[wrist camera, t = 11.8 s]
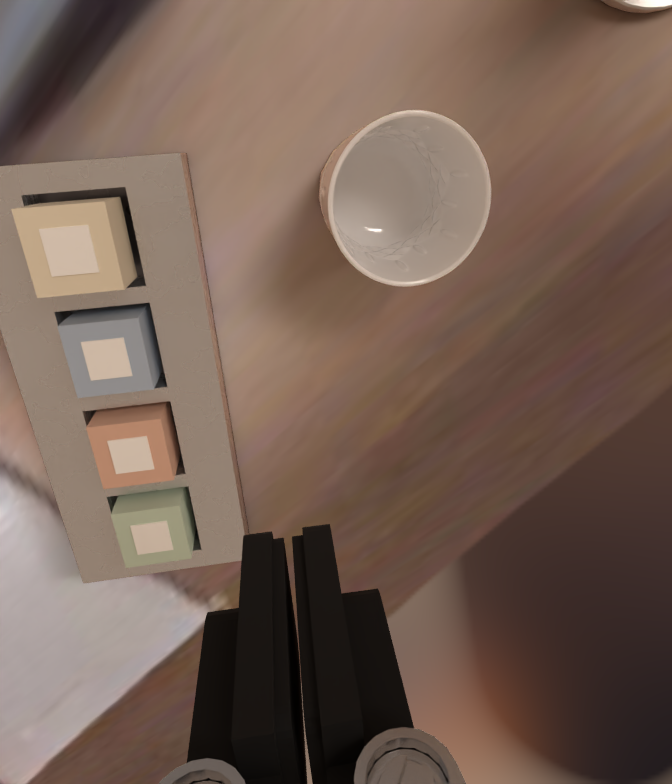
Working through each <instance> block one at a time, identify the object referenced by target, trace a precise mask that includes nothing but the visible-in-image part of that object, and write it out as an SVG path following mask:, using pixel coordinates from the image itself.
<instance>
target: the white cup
mask: <svg viewBox="0 0 672 784" xmlns="http://www.w3.org/2000/svg"><path fill="white" fill-rule="evenodd" d="M318 199H319V202H320V205H321V210H322V214H323V217H324V220H325V223H326V225H327V227H328V229H329V231H330V233H331V235H332V237H333V238H334V240H335V242H336V243H337V245H338V247H339V249H340V250H341V252H342V253H343V255H344V256H345V257H346V259H347V260H348V261H349V262H350V263H351V264H352V265H353V266H354V267H355V268H356V269H357V270H358V271H360V272H361V273H362V274H364V275H365V276H367V277H369V278H371V279H373V280H375V281H377V282H380V283H383V284H387V285H391V286H400V287H408V286H417V285H422V284H426V283H429V282H432V281H434V280H437V279H439V278H441V277H443V276H445V275H446V274H448V273H449V272H451V271H452V270H454V269H455V268H456V267H457V266H458V265H460V264H461V263H462V262H463V261H464V260H465V259H466V258H467V256H468V255H469V254H470V253H471V251H472V250H473V249H474V247H475V246H476V244H477V243H478V241H479V239H480V237H481V235H482V233H483V231H484V228H485V226H486V223H487V219H488V216H489V211H490V205H491V181H490V175H489V170H488V166H487V163H486V161H485V158H484V156H483V154H482V152H481V150H480V148H479V146H478V145H477V143H476V142H475V140H474V139H473V138H472V136H471V135H470V134H469V133H468V132H467V131H466V130H465V129H464V128H463V127H461V126H460V125H459V124H457V123H456V122H454V121H453V120H451V119H449V118H447V117H445V116H443V115H441V114H438V113H434V112H430V111H425V110H405V111H399V112H395V113H391V114H388V115H386V116H383V117H381V118H379V119H377V120H375V121H373V122H372V123H370V124H368V125H366V126H364V127H363V128H361V129H359V130H357V131H356V132H354V133H353V134H352V135H350V136H349V137H348V138H347V139H345V140H344V141H343V142H342V143H341V144H340V145H339V146H338V147H337V148H336V149H334V150H333V152H332V153H331V155H330V157H329V159H328V161H327V162H326V164H325V166H324V168H323V170H322V172H321V174H320V186H319V198H318Z"/></svg>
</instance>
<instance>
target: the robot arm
mask: <svg viewBox="0 0 672 784" xmlns="http://www.w3.org/2000/svg"><path fill="white" fill-rule="evenodd" d="M601 1H603V2H604V3H606V4H607V5H609V6H611V7H614V8H617V9H620V10H623V11H626V12H636V13H649V12H655V11H661V10H665V9H668V8H671V7H672V0H601ZM302 529H303V535H301V536H293V537H292V543H293V558H294V573H295V588H296V603H297V619H298V634H299V649H300V663H299V650H298V640H297V632H296V625H295V617H294V610H293V603H292V595H291V588H290V581H289V573H288V566H287V559H286V551H285V544H284V538H278V539H273V534H272V532H265V533H257V534H249V535H244V536H243V546H242V563H241V580H240V597H239V608H235V609H228V610H221V611H214V612H208V613H207V615H206V620H205V625H204V633H203V641H202V649H201V657H200V664H199V672H198V680H197V688H196V696H195V703H194V711H193V719H192V727H191V735H190V742H189V750H188V758H187V763H186V764H184V765H182V766H180V767H178V768H176V769H174V770H173V771H172V772H171V773H170V774H168V775H167V776H166V777H165V778H163V779H162V780H161V781H160V783H159V784H307V773H306V758H305V741H304V726H303V710H302V696H301V679H302V694H303V709H304V721H305V729H306V730H305V731H306V739H307V746H308V753H309V760H310V768H311V774H312V782H313V784H466V783H465V780H464V778H463V776H462V774H461V772H460V770H459V768H458V765H457V763H456V761H455V760H454V758H453V757H452V755H451V754H450V752H449V750H448V749H447V747H445V746H444V745H443V744H442V743H441V742H440V741H439V740H437V739H436V738H435V737H434V736H432V735H430V734H428V733H425V732H424V731H422V730H419V729H414V726H413V722H412V719H411V714H410V711H409V707H408V703H407V699H406V695H405V691H404V687H403V683H402V679H401V675H400V671H399V667H398V663H397V659H396V655H395V652H394V647H393V644H392V640H391V635H390V631H389V627H388V624H387V619H386V616H385V612H384V608H383V604H382V600H381V596H380V593H379V590H378V589H372V590H365V591H358V592H350V593H343V594H341V588H340V582H339V576H338V570H337V564H336V558H335V552H334V546H333V540H332V534H331V528H330V524H326V525H319V526H311V527H303V528H302ZM300 664H301V679H300Z"/></svg>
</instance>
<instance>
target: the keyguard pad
mask: <svg viewBox="0 0 672 784" xmlns="http://www.w3.org/2000/svg"><path fill="white" fill-rule="evenodd" d="M110 197H120V198H121V203H122V208H123V212H124V217H125V222H126V226H127V231H128V236H129V240H130V245H131V249H132V254H133V259H134V263H135V268H136V273H137V278H136V279H135V280H134V281H133V282H132V283H131V284H130V285H129V286H128V287H127V288H126V289H125V290H116V291H106V292H96V293H85V294H75V295H65V296H55V297H44V298H37V295H36V292H35V289H34V285H33V282H32V278H31V275H30V271H29V268H28V265H27V261H26V258H25V254H24V251H23V248H22V244H21V241H20V237H19V234H18V231H17V227H16V224H15V220H14V217H13V213H12V210H11V209H14V208H18V207H23V206H27V205H32V204H37V203H49V202H61V201H73V200H85V199H98V198H110ZM146 303H149V306H150V311H151V316H152V320H153V325H154V330H155V335H156V339H157V344H158V349H159V354H160V358H161V363H162V368H163V370H162V372H161V374H160V377H159V379H158V381H157V384H156V386H155V388H154V390H145V391H136V392H128V393H119V394H110V395H101V396H93V397H84V398H77V394H76V391H75V387H74V383H73V380H72V376H71V373H70V369H69V366H68V362H67V359H66V355H65V352H64V348H63V345H62V341H61V338H60V334H59V331H58V327H57V326H58V325H59V324H60V323H62V322H63V321H64V320H65V319H66V318H67V317H69V316H70V315H71V314H72V313H73V312H74V311H76V310H86V309H96V308H106V307H116V306H126V305H136V304H146ZM0 330H1V333H2V337H3V340H4V343H5V346H6V349H7V352H8V355H9V358H10V361H11V364H12V367H13V370H14V373H15V376H16V379H17V382H18V385H19V388H20V391H21V394H22V397H23V400H24V404H25V407H26V410H27V413H28V416H29V419H30V422H31V425H32V428H33V431H34V434H35V437H36V440H37V443H38V446H39V449H40V452H41V455H42V458H43V461H44V464H45V468H46V471H47V474H48V477H49V480H50V483H51V486H52V489H53V492H54V495H55V498H56V501H57V504H58V507H59V510H60V513H61V516H62V519H63V522H64V525H65V528H66V532H67V535H68V538H69V541H70V544H71V547H72V550H73V553H74V556H75V559H76V562H77V565H78V568H79V571H80V574H81V577H82V580H83V583H90V582H97V581H104V580H111V579H117V578H124V577H131V576H138V575H145V574H152V573H159V572H166V571H173V570H179V569H186V568H193V567H200V566H207V565H214V564H221V563H228V562H235V561H241V560H242V546H243V536H244V535H249V529H248V523H247V517H246V511H245V505H244V499H243V493H242V487H241V481H240V475H239V469H238V463H237V456H236V450H235V444H234V438H233V432H232V426H231V420H230V414H229V408H228V402H227V396H226V390H225V383H224V377H223V371H222V365H221V359H220V353H219V347H218V341H217V335H216V329H215V323H214V317H213V310H212V304H211V298H210V292H209V286H208V280H207V274H206V268H205V262H204V256H203V250H202V244H201V238H200V231H199V225H198V219H197V213H196V207H195V201H194V195H193V189H192V183H191V177H190V171H189V165H188V158H187V153H171V154H157V155H144V156H131V157H117V158H104V159H91V160H77V161H64V162H51V163H37V164H24V165H11V166H0ZM167 401H170V406H171V411H172V415H173V420H174V425H175V430H176V434H177V439H178V444H179V448H180V453H181V454H180V458H179V462H178V466H177V470H176V474H175V478H174V480H171V481H164V482H156V483H148V484H141V485H133V486H125V487H118V488H110V489H103V486H102V482H101V479H100V475H99V472H98V468H97V465H96V461H95V458H94V454H93V451H92V447H91V444H90V440H89V436H88V433H87V429H86V427H87V425H88V424H89V422H90V421H91V419H92V417H93V416H94V414H95V413H96V411H97V410H99V409H107V408H116V407H125V406H133V405H142V404H150V403H159V402H167ZM186 486H187V487H188V491H189V496H190V501H191V506H192V510H193V515H194V520H195V525H196V533H195V539H194V545H193V552H192V558H191V559H186V560H179V561H172V562H165V563H158V564H151V565H144V566H137V567H130V568H126V567H125V563H124V560H123V556H122V553H121V549H120V546H119V542H118V539H117V535H116V532H115V528H114V525H113V521H112V518H111V513H112V510H113V508H114V505H115V503H116V500H117V498H118V495H126V494H133V493H141V492H148V491H156V490H164V489H171V488H179V487H186Z"/></svg>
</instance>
